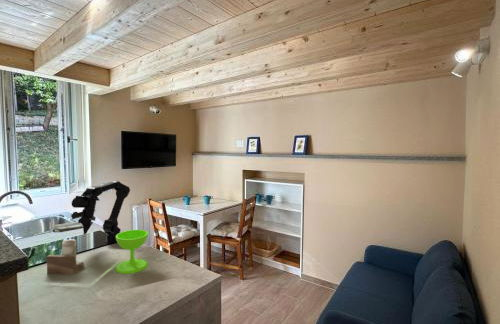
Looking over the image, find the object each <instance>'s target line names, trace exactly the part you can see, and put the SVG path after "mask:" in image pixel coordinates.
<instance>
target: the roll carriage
mask: <svg viewBox="0 0 500 324" xmlns="http://www.w3.org/2000/svg"><path fill="white" fill-rule="evenodd" d="M61 255H62V256H75V266H76V265H77V264H79V263H80V262H81V261H77V240H76V239H74V238H72V239H71V238H69V239H66V240H63V241H62V242H61Z"/></svg>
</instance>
